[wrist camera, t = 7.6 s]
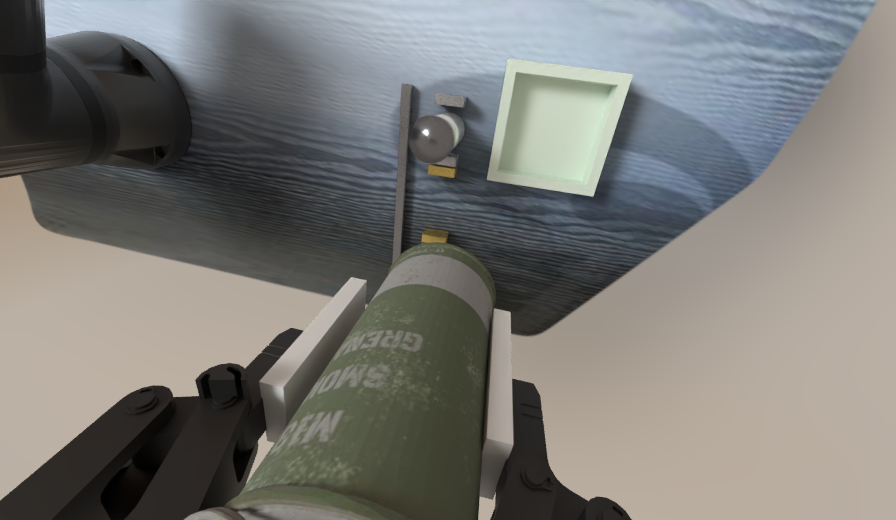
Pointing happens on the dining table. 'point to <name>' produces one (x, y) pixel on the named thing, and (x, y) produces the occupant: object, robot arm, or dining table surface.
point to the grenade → (390, 407)
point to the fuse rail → (426, 155)
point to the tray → (555, 125)
